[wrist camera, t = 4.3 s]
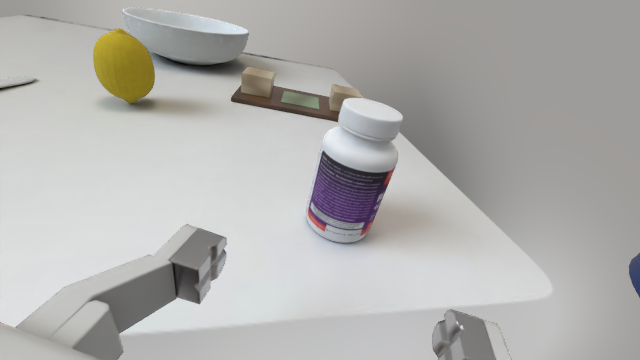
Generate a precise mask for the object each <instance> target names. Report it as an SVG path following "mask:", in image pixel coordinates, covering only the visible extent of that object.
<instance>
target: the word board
mask: <svg viewBox="0 0 640 360" xmlns="http://www.w3.org/2000/svg"><path fill="white" fill-rule="evenodd" d="M274 77H275V72H271V71H267V70H262V69H257V68H252V67H247V68H246V69H245V70H244V71H243V72H242V84H241V86H240V87H239V88H238V90H237V91H236V92H235V93H234V95H233V96H232V97H231V101H233V102H239V103H244V104H249V105H254V106H260V107H265V108H270V109H275V110H281V111H286V112H291V113H296V114H302V115H307V116H312V117H317V118H323V119H328V120H333V121H338V119H339V113H340V110H341V107H342V104H343V101H344V100H345V99H347V98H362V97H361V95H360V93H359V91H358V90H357V89H353V88H348V87H344V86H339V85H334V84H333V85H332V89H331V93H330V97H326V96H321V95H316V94H311V93H306V92H301V91H296V90H291V89H286V88H281V87H276V86H274Z"/></svg>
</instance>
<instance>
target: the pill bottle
mask: <svg viewBox="0 0 640 360" xmlns="http://www.w3.org/2000/svg"><path fill="white" fill-rule="evenodd" d="M402 120H403V116H402V114H401V113H400V112H398V111H397V110H395V109H393V108H391V107H390V106H387V105H385V104H382V103H379V102H376V101H372V100H368V99H362V98H347V99H345V100H344V101H343V104H342V107H341V110H340V113H339V119H338V123H339V125H340V126H337V127H334V128H332V129H330V130H329V131H328V132H327V133H326V134H325V136H324V138H323V141H322V145H321V149H320V153H319V157H318V162H317V166H316V170H315V175H314V179H313V183H312V188H311V192H310V196H309V200H308V205H307V210H306V217H307V220H308V223H309V224H310V226H311V227H312V229H313V230H314V231H315V232H317V233H318V234H319V235H321V236H322V237H324V238H326V239H329V240H332V241H336V242H342V243H349V242H355V241H358V240H360V239H362V238H363V237H365V236H366V234H367V233H368V231H369V229H370V227H371V225H372V223H373V220H374V218H375V215H376V213H377V210H378V208H379V205H380V203H381V201H382V198H383V196H384V193H385V191H386V188H387V186H388V183H389V181H390V179H391V176H392V174H393V171H394V169H395V166H396V163H397V160H398V152H397V149H396V147H395V146H394V144H393V143H392V142H391V141H392V140H394V139H395V137H396V135H397V134H398V131H399V128H400V126H401V123H402Z"/></svg>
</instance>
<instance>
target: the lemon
mask: <svg viewBox="0 0 640 360" xmlns="http://www.w3.org/2000/svg"><path fill="white" fill-rule="evenodd" d="M93 60H94V67H95V71H96V74H97V77H98V79H99V81H100V82H101V84H102V85H103V86H104V88H105V89H107V90H108V91H109V92H110V93H111V94H113V95H115V96H117V97H119V98H122V99H124V100H125V101H127V102H128V103H135V102H136V101H137V100H138V99H139V98H142V97H144V96H146V95H147V94H148V93H149V92H150V91H151V89H152V88H153V85H154V80H155V73H154V66H153V62H152V59H151V56H150V54H149V52H148V50H147V49H146V47H145V46H144V45H143V44H142V43H141V42H140V41H139V40H138V39H136V38H135V37H133V36H131V35H129V34H127V33H126V32H125V31H124V30H122V29H115V30H114V31H113V32H110V33H107V34H105V35H103V36H102V37H100V38H99V39H98V41H97V42H96V44H95V47H94V54H93Z"/></svg>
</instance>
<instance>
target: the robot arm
mask: <svg viewBox="0 0 640 360" xmlns="http://www.w3.org/2000/svg"><path fill="white" fill-rule="evenodd" d="M226 245H227V238H226V237H223V236H220V235H218V234H215V233H212V232H209V231H206V230H203V229H200V228H197V227H194V226H191V225H188V224H187V225H184V226H183V227H181V228H180V229H179V230H178V231H177V232H176V233H175V234H174V235H173V236H172V237H171V238H170V239H169V240H168V241H167V242H166V243H165V244H164V245H163V246H162V248H161V249H160V250H159V251H158V252H157V253H156V254H155V255H154V256H153V255H147V256H144V257H142V258H139V259H136V260H134V261H131V262H128V263H126V264H123V265H121V266H118V267H115V268H113V269H110V270H107V271H105V272H102V273H100V274H97V275H94V276H92V277H89V278H87V279H84V280H81V281H79V282H76V283H73V284H71V285H68V286H66V287H64V288H62V289H61V290H60V291H59V292H58V293H56V294H55V295H54V296H53V297H52V298H50V299H49V300H48V301H47V302H46V303H44V304H43V305H42V306H41V307H39V308H38V309H37V310H36V311H35V312H33V313H32V314H31V315H30V316H29V317H27V318H26V319H25V320H24V321H22V322H21V323H20V324H19V325H18V326H16V327H12V326H9V325H6V324H4V323H1V322H0V360H118V359H119V357H120V356H121V355H122V353H123V345H122V342H121V339H120V336H119V333H121V332H123V331H124V330H126V329H128V328H129V327H131V326H132V325H134V324H136V323H137V322H139V321H141V320H142V319H144V318H145V317H147V316H149V315H150V314H152V313H154V312H155V311H157V310H158V309H160V308H162V307H163V306H165V305H167V304H168V303H170V302H172V301H173V300H175V299H176V297H178V298H181V299H185V300H188V301H191V302H194V303H197V304H200V303H201V301H202V300H203V298H204V297H205V295H206V294H207V292H208V291H209V289H210V281H212V280H214V279H216V278H217V277H218V276H219V274H220V273H221V271H222V269H223V266H224V264H225V260H226V252H225V250H224V248H225V246H226ZM444 317H445V320H443V321H440V322H438V323H437V325H436V326H435V328H434V331H433V335H432V345H433V350H434V352H435V353H436V355H437V357H438V360H511V357H510V354H509V352H508V349H507V346H506V343H505V340H504V338H503V335H502V332H501V330H500V327H499V326H498V325H497V324H496V323H493V322H490V321H487V320H484V319H480V318H478V317H475V316H471V315H468V314H465V313H462V312H459V311H455V310H452V309H450V310H448V311H447V312H446V313H445V314H444Z"/></svg>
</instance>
